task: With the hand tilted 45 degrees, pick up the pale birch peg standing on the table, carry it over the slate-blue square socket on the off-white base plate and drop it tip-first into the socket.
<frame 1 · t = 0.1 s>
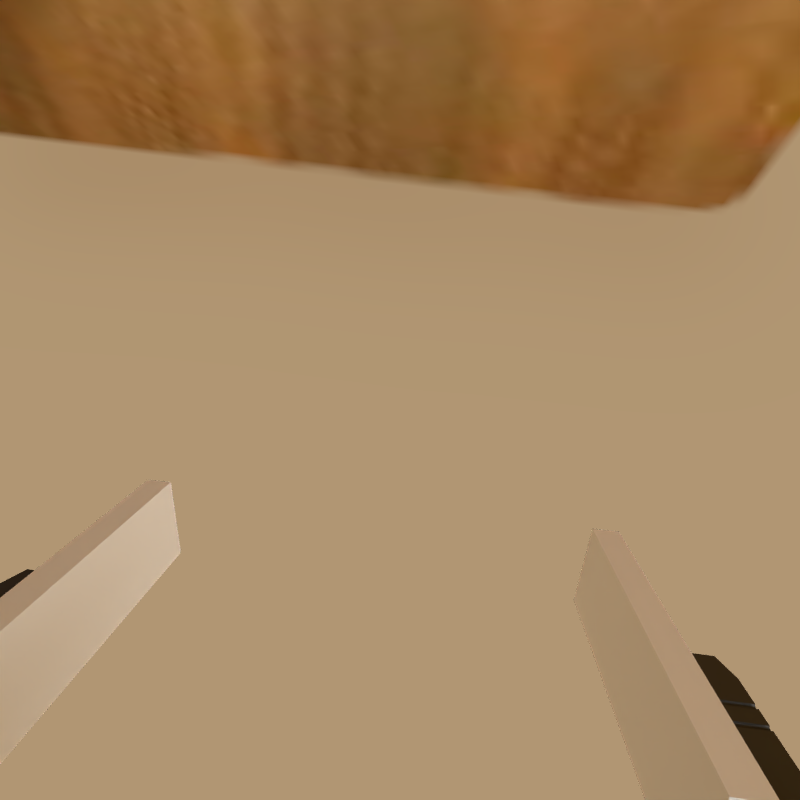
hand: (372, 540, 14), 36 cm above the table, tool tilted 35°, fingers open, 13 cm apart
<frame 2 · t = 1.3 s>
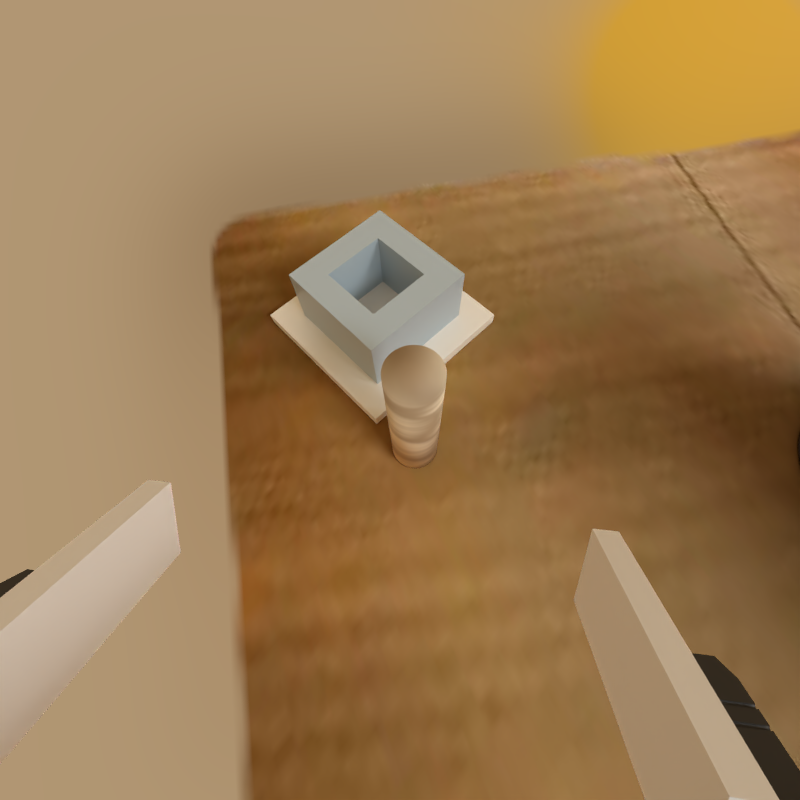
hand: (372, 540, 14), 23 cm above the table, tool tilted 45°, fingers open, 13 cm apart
birch peg: (414, 446, 39), on the table
socket block: (381, 321, 45), on the table
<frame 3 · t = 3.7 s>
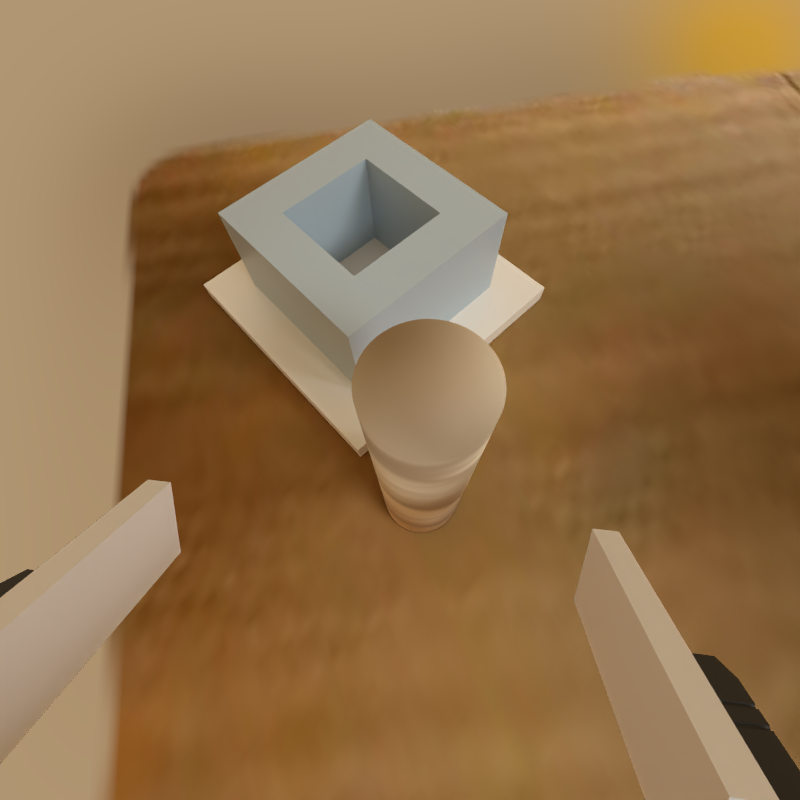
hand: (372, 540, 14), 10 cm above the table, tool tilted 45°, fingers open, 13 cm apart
birch peg: (421, 495, 24), on the table
socket block: (372, 297, 30), on the table
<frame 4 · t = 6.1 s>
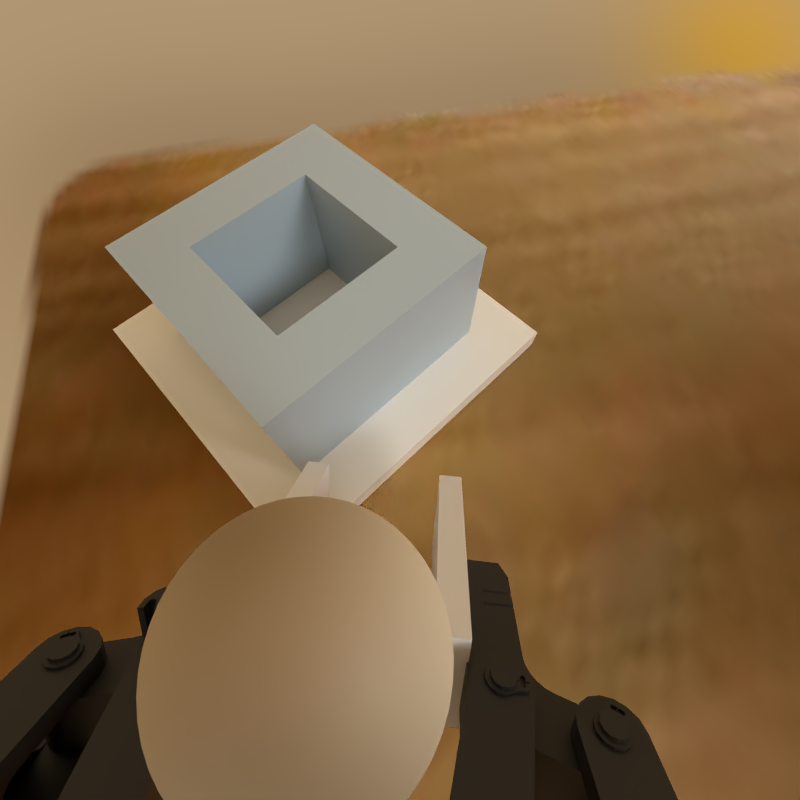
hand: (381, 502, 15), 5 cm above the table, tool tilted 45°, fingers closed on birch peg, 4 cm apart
birch peg: (377, 615, 18), on the table, touching gripper
socket block: (325, 343, 24), on the table
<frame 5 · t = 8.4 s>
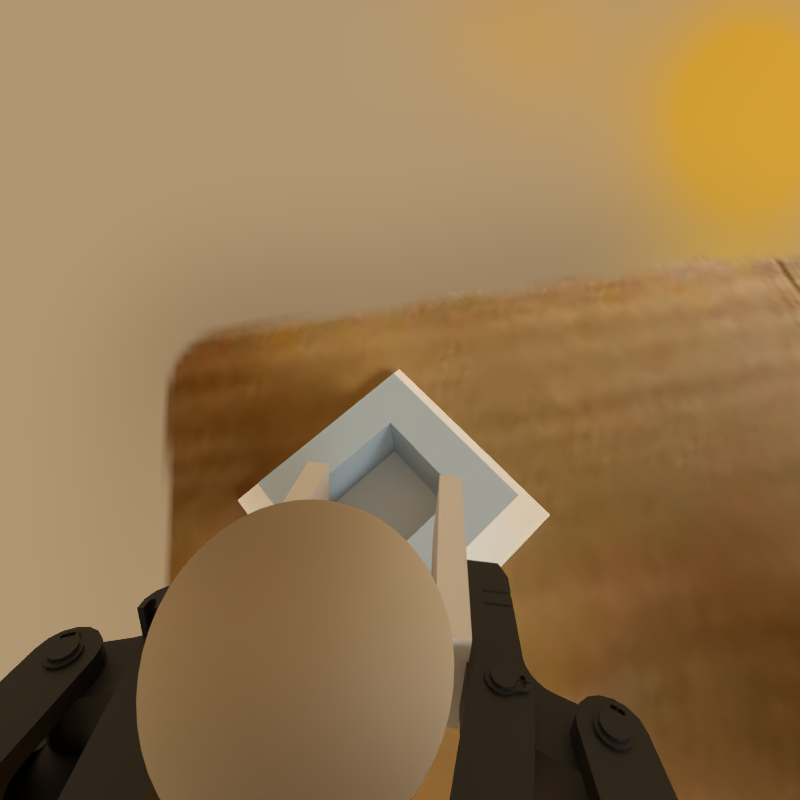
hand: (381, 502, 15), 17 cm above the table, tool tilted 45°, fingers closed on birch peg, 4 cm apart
birch peg: (377, 616, 18), point 12 cm above the table, touching gripper
socket block: (391, 510, 32), on the table
when the fingers open (10 cm above the table, at t = 10.9 s): birch peg drops 4 cm, resting on socket block.
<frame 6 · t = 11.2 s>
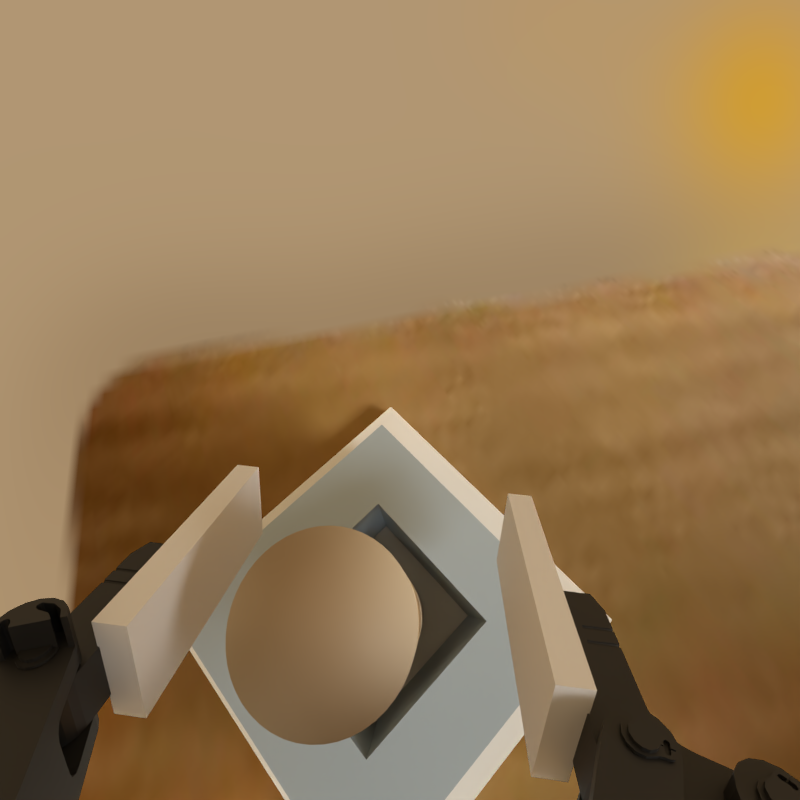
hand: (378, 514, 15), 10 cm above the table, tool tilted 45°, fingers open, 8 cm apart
birch peg: (383, 614, 22), point 1 cm above the table, touching socket block
socket block: (384, 612, 23), on the table
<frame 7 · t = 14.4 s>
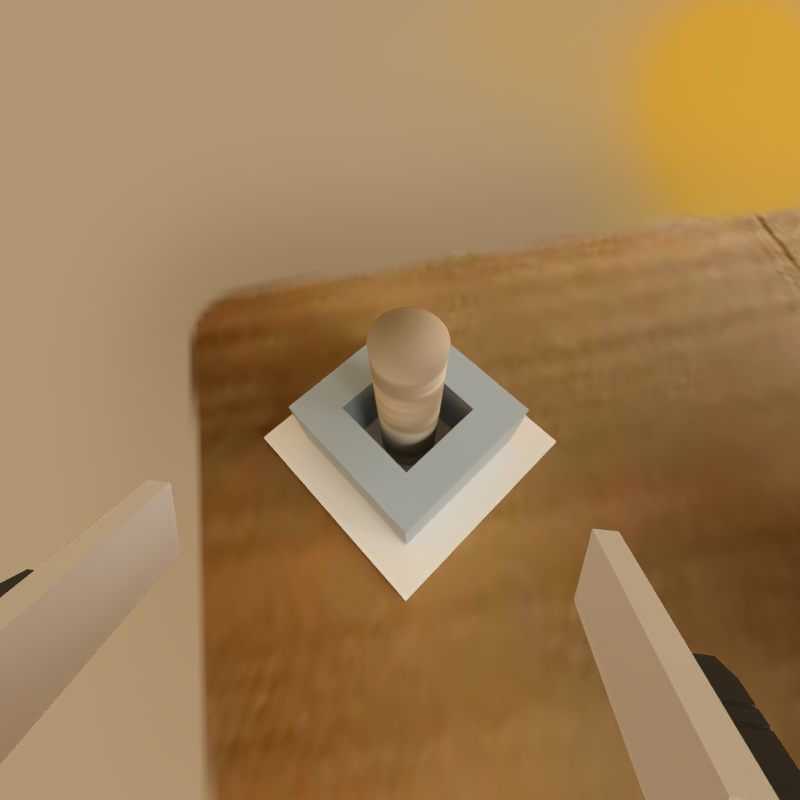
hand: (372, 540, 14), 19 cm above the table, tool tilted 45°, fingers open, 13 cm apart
birch peg: (408, 440, 33), point 1 cm above the table, touching socket block
socket block: (408, 444, 34), on the table
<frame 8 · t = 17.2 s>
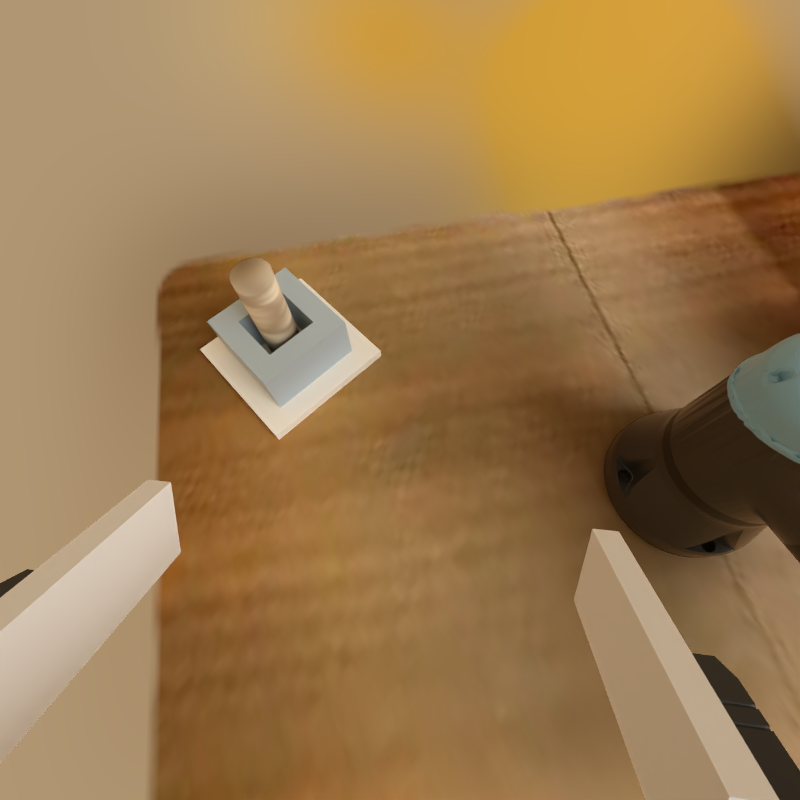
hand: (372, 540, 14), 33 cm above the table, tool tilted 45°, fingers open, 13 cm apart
birch peg: (289, 350, 53), point 1 cm above the table, touching socket block
socket block: (291, 355, 55), on the table
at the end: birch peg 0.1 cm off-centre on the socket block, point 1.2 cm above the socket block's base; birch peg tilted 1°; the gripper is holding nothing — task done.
